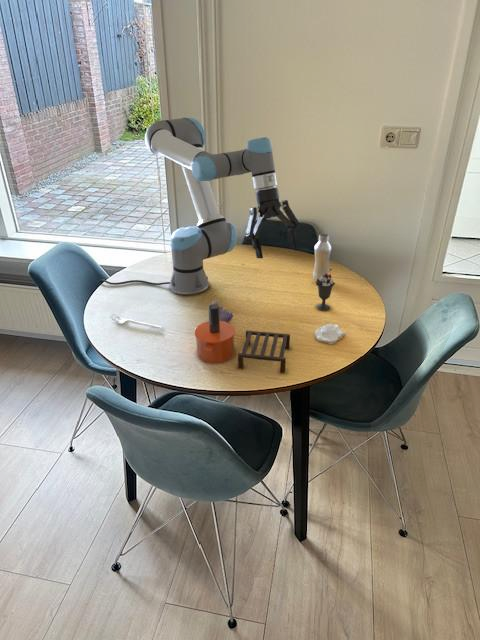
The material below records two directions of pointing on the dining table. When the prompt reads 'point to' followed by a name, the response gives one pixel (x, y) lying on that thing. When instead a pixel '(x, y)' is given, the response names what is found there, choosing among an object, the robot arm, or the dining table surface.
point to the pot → (215, 351)
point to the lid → (214, 328)
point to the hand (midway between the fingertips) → (276, 253)
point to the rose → (329, 333)
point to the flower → (224, 314)
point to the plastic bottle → (321, 257)
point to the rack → (262, 355)
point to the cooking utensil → (131, 321)
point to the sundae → (324, 290)
